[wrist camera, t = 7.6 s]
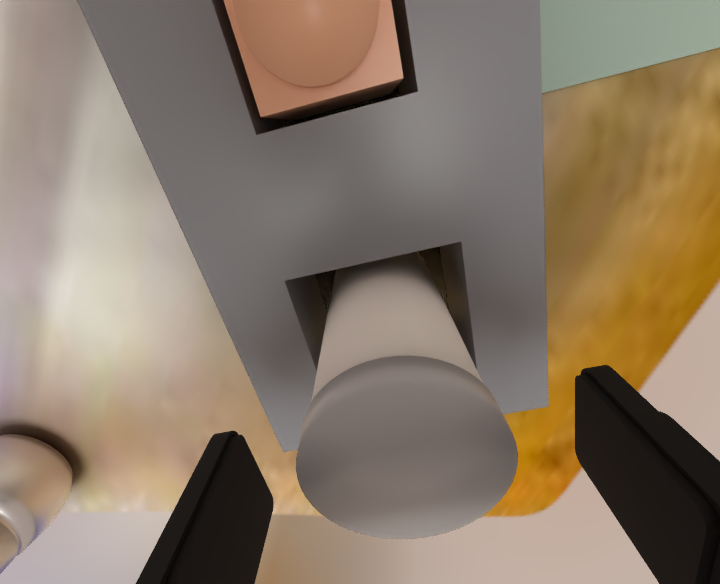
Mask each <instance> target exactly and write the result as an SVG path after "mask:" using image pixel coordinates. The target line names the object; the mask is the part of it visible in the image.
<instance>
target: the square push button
mask: <svg viewBox="0 0 720 584" xmlns="http://www.w3.org/2000/svg"><path fill="white" fill-rule="evenodd" d="M224 4H225V7H226V10H227V13H228V16H229V19H230V22H231V26H232V29H233V32H234V35H235V38H236V41H237V44H238V48H239V51H240V54H241V57H242V60H243V63H244V66H245V69H246V73H247V76H248V79H249V82H250V85H251V88H252V91H253V95H254V98H255V101H256V104H257V107H258V110H259V113H260V117H264V118H273V119H281V120H290V121H293V120H296V119H300V118H304V117H307V116H311V115H315V114H318V113H322V112H326V111H330V110H333V109H337V108H341V107H344V106H348V105H352V104H356V103H359V102H363V101H367V100H370V99H374V98H378V97H381V96H385V95H389V94H391V93H392V91H393V90H394V89H395V88H396V87H397V85H398V84H399V83H400V82H401V81H402V79H403V78H404V77H403V71H402V65H401V58H400V52H399V46H398V40H397V34H396V27H395V21H394V15H393V9H392V2H391V0H224Z"/></svg>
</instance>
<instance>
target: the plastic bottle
mask: <svg viewBox="0 0 720 584" xmlns="http://www.w3.org/2000/svg"><path fill="white" fill-rule="evenodd" d="M71 486H72V469H71V467H70V464H69V463H68V461H67V460H66V459H65V457H64V456H63V455H62V454H61V453H60V452H58V451H57V450H56V449H54V448H53V447H52V446H50V445H48V444H46V443H44V442H42V441H40V440H38V439H35V438H32V437H28V436H24V435H17V434H7V435H1V436H0V574H1V573H2V572H3V570H4V569H5V568H6V567H7V566H8V565H9V564H10V563H11V562H12V560H13V559H14V558H15V557H16V556H17V555H19V554H20V553H21V552H22V551H23V550H25V548H27V547H28V546H29V545H30V544H31V543H32V542H33V541H34V540H35V539H36V538H37V537H38V536H39V535H40V534H41V533H42V532H43V531H44V530H45V529H46V528H47V526H49V524H50V523H51V522H52V521H53V520H54V519H55V518H56V517H57V515H58V513H59V512H60V510H61V508H62V506H63V505H64V503H65V501H66V499H67V498H68V496H69V494H70V492H71Z"/></svg>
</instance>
